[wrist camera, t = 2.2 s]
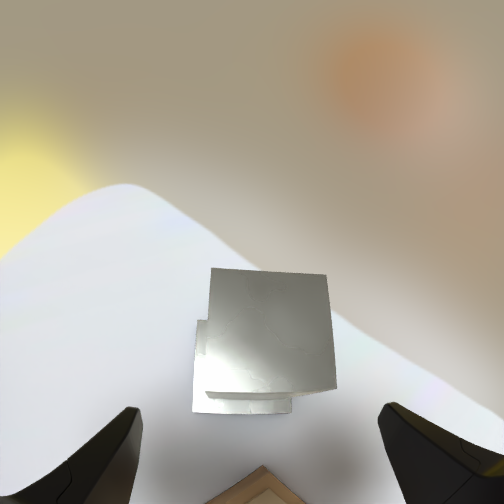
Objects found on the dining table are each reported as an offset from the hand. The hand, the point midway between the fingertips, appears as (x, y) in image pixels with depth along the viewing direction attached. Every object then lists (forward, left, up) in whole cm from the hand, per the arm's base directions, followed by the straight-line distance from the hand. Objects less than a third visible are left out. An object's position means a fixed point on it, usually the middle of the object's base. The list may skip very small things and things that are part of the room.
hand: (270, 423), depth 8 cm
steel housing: (+3, -2, -10) cm, 11 cm away
